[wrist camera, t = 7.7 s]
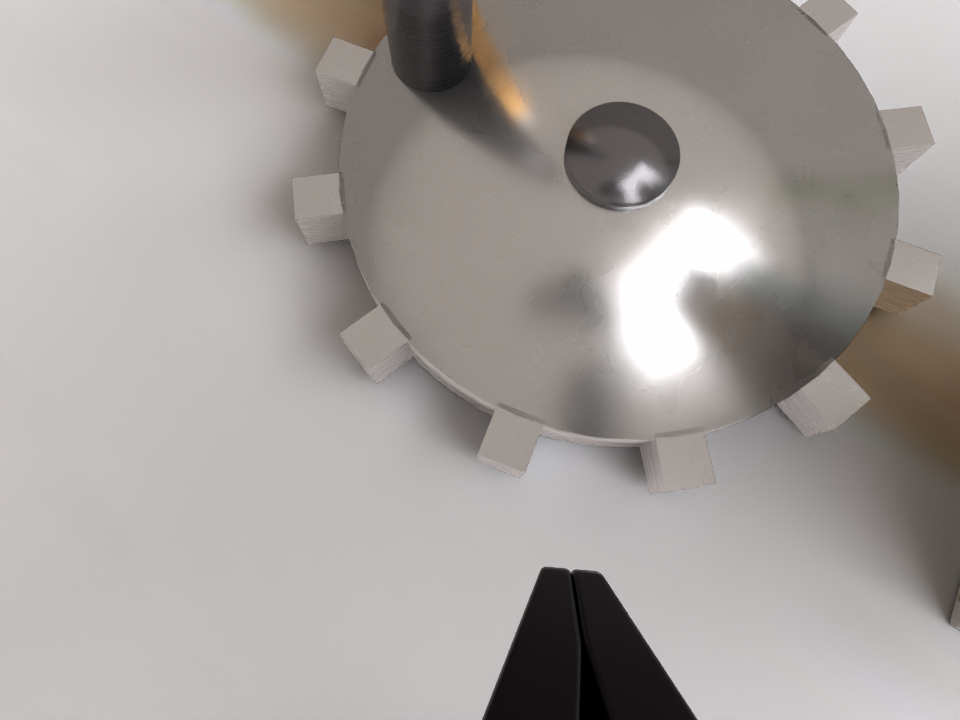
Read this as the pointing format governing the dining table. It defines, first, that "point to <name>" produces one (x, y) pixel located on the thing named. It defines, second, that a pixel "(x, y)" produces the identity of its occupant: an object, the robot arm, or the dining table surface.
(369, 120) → the sprocket
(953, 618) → the coffee box
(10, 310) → the dining table surface
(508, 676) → the robot arm
